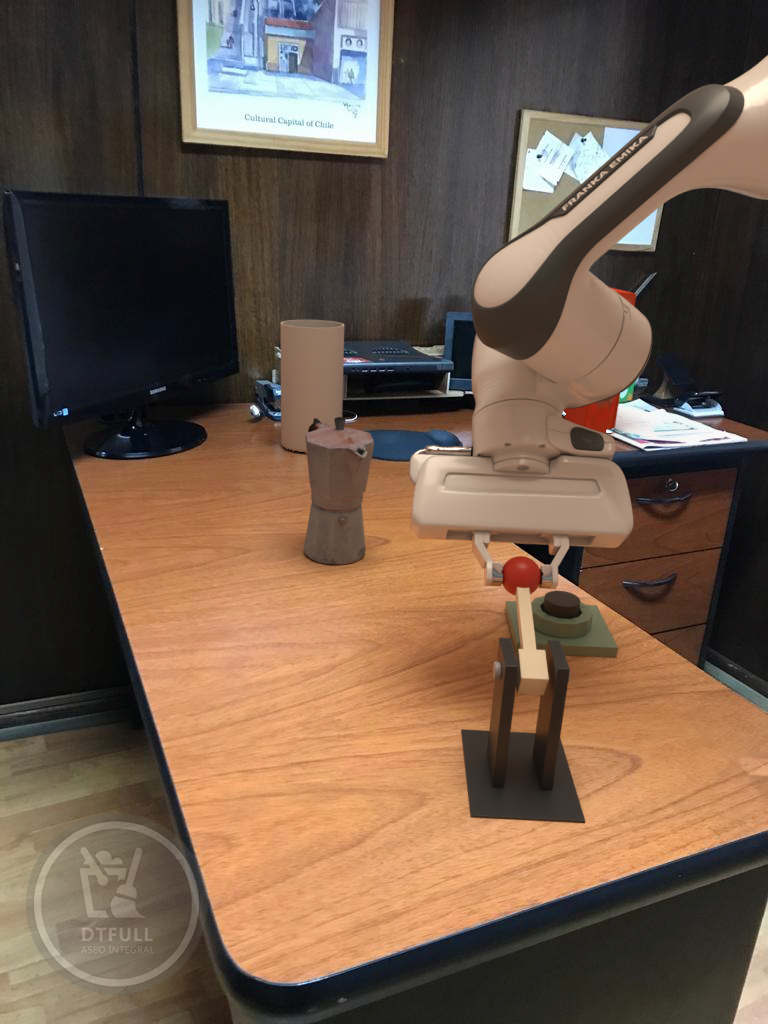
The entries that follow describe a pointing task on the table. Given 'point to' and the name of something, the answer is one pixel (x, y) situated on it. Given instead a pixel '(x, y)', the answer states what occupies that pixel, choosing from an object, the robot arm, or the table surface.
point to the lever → (526, 625)
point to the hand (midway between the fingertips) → (521, 585)
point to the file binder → (604, 411)
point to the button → (561, 604)
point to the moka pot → (337, 491)
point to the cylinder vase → (310, 377)
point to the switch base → (522, 750)
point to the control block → (566, 630)
